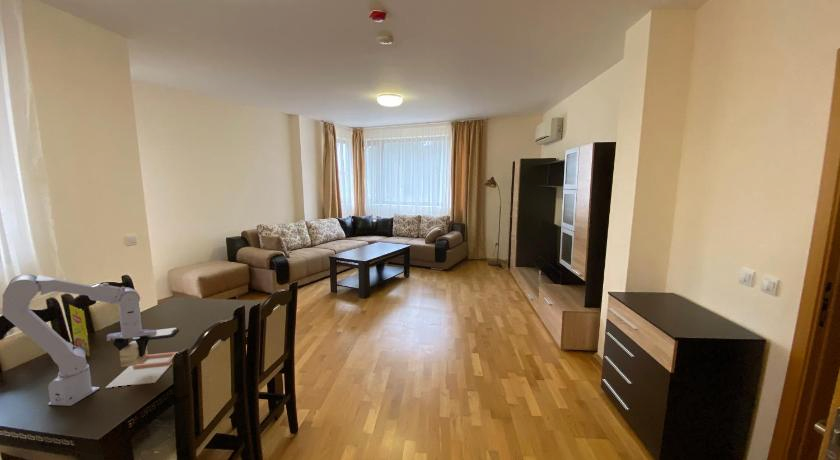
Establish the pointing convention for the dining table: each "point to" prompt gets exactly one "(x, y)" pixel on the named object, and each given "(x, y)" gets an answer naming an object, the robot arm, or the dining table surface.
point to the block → (131, 355)
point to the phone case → (162, 333)
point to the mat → (141, 374)
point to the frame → (155, 362)
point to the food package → (79, 328)
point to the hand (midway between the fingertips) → (134, 356)
